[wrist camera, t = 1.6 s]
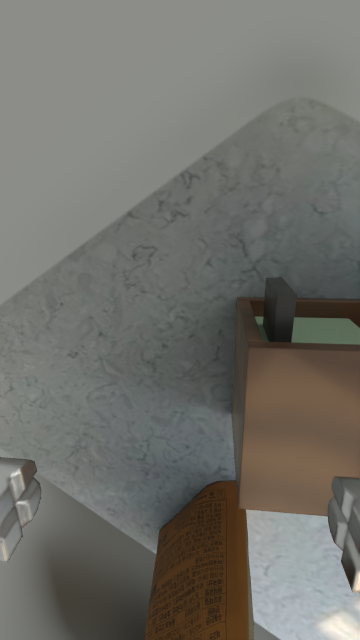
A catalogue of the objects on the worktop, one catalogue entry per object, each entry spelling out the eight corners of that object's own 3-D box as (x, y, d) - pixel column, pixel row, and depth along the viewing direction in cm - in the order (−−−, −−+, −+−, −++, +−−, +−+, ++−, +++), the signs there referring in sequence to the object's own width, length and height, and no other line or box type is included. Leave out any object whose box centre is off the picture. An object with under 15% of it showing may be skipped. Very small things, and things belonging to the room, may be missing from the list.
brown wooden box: (237, 297, 29) (248, 347, 19) (463, 300, 27) (611, 359, 17) (231, 416, 34) (237, 509, 23) (425, 426, 32) (525, 533, 21)
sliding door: (255, 271, 27) (271, 299, 19) (356, 272, 26) (418, 302, 18) (251, 322, 29) (265, 368, 21) (347, 324, 28) (400, 373, 20)
